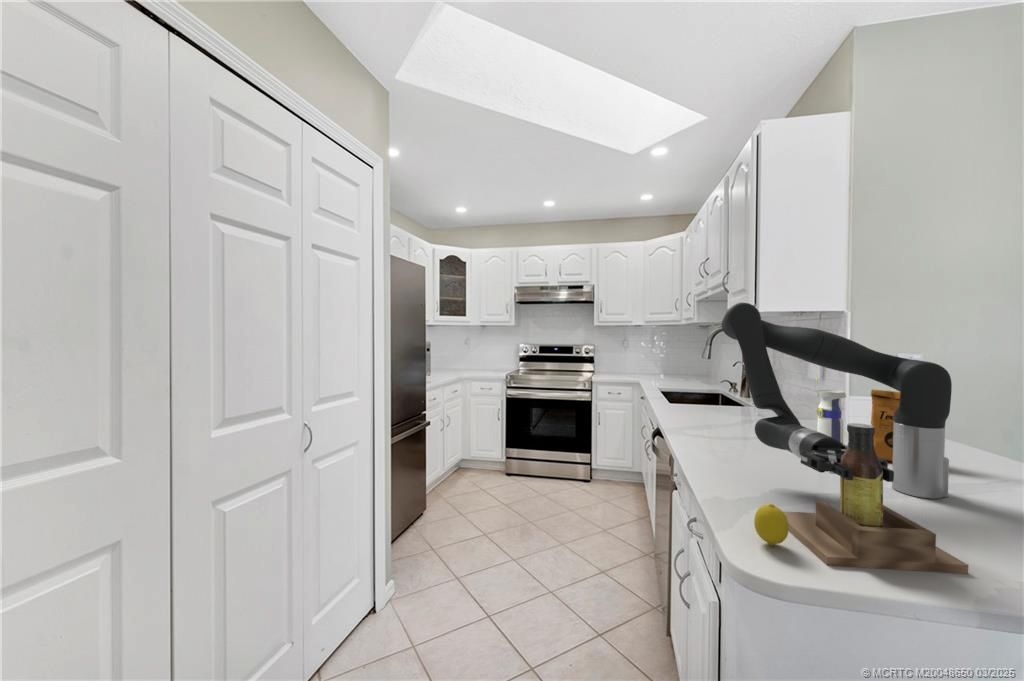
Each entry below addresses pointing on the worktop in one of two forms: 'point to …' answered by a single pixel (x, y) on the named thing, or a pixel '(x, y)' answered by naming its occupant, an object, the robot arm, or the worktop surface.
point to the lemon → (771, 524)
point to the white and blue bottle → (830, 413)
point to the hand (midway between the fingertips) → (871, 475)
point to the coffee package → (884, 421)
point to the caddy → (871, 541)
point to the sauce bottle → (862, 478)
